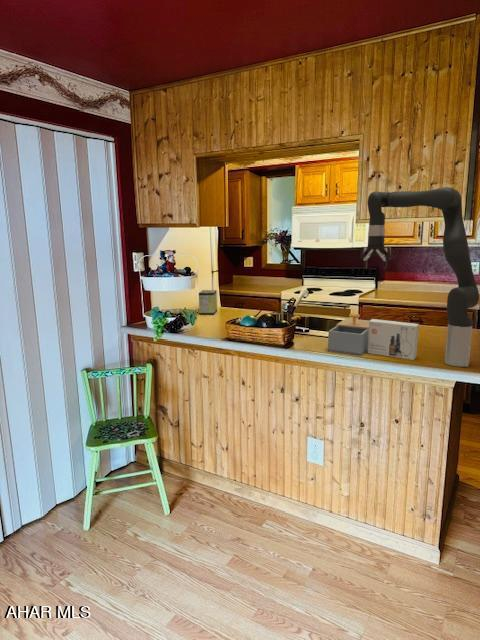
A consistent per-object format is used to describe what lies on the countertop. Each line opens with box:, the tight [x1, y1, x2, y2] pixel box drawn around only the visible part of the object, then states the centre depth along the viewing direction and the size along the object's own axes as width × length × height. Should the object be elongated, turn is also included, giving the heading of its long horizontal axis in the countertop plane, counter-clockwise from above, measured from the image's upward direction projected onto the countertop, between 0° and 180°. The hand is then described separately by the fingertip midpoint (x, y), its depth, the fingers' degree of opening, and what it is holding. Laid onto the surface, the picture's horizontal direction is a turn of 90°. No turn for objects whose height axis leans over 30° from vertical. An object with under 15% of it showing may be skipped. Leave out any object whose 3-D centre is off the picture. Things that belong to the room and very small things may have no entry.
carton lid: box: [335, 313, 371, 329], centre depth 216 cm, size 16×16×6 cm
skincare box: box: [367, 318, 420, 361], centre depth 196 cm, size 21×6×16 cm, turn 56°
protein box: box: [198, 289, 218, 316], centre depth 303 cm, size 10×16×16 cm
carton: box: [327, 325, 369, 356], centre depth 207 cm, size 16×16×10 cm
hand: (374, 268), depth 209 cm, fingers open, 8 cm apart
